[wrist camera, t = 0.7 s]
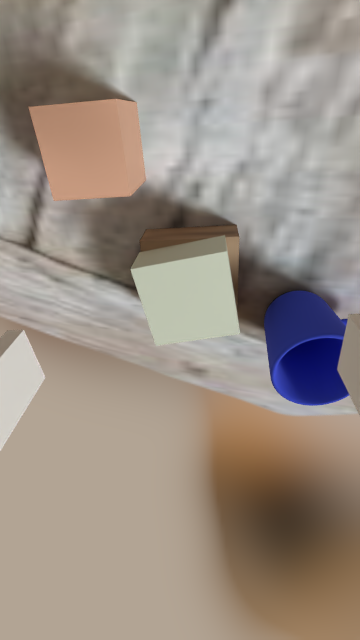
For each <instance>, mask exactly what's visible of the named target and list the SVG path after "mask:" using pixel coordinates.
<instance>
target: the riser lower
mask: <svg viewBox="0 0 360 640" xmlns="http://www.w3.org/2000/svg"><path fill="white" fill-rule="evenodd" d="M223 235H225V239H226V245H227V251H228V257H229V264H230V270H231V276H232V283H233V289H234V295H235V302H236V308H237V306H238V269H239V233H238V229H237V225H223V226H203V227H184V228H164V229H146V231H145V232H144V234H143V236H142V238H141V240H140V248H141V252H143V251H148V250H153V249H158V248H163V247H168V246H173V245H178V244H183V243H188V242H193V241H198V240H203V239H208V238H213V237H218V236H223Z"/></svg>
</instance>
